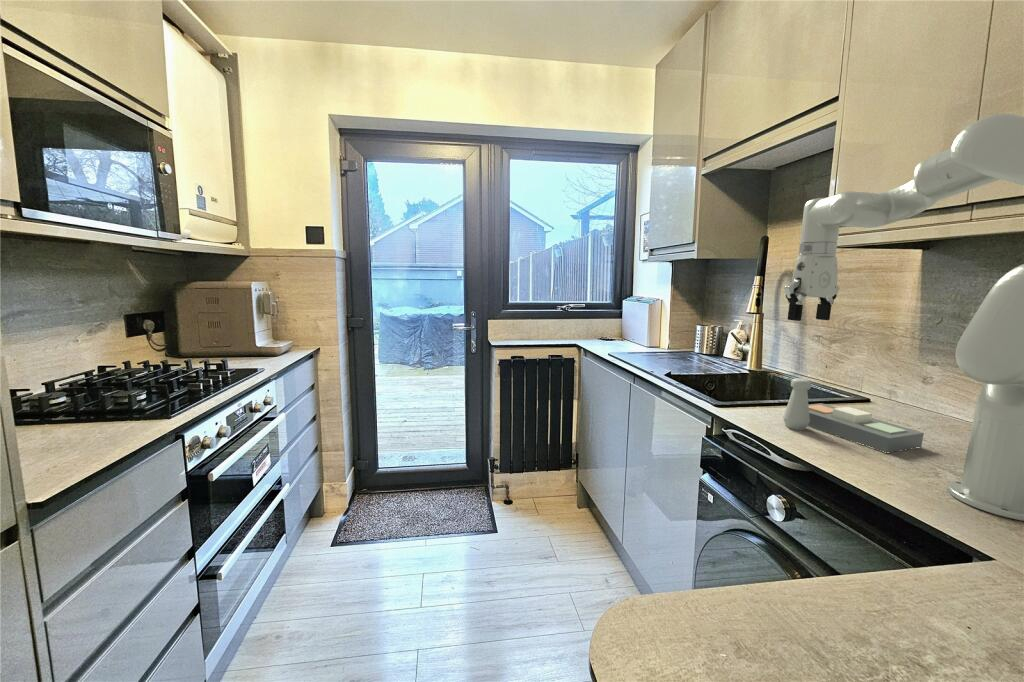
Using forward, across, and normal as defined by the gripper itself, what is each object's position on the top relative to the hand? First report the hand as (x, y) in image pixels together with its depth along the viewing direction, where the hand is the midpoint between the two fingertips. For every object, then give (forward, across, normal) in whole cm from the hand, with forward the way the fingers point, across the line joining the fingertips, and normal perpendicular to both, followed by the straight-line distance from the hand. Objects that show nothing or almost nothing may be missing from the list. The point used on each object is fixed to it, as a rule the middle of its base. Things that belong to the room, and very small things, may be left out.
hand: (808, 320), depth 108 cm
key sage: (+28, +10, -14) cm, 33 cm away
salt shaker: (+28, 0, 0) cm, 29 cm away
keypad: (+28, +10, -6) cm, 31 cm away
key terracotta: (+28, +11, +1) cm, 30 cm away
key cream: (+26, +10, -6) cm, 29 cm away
